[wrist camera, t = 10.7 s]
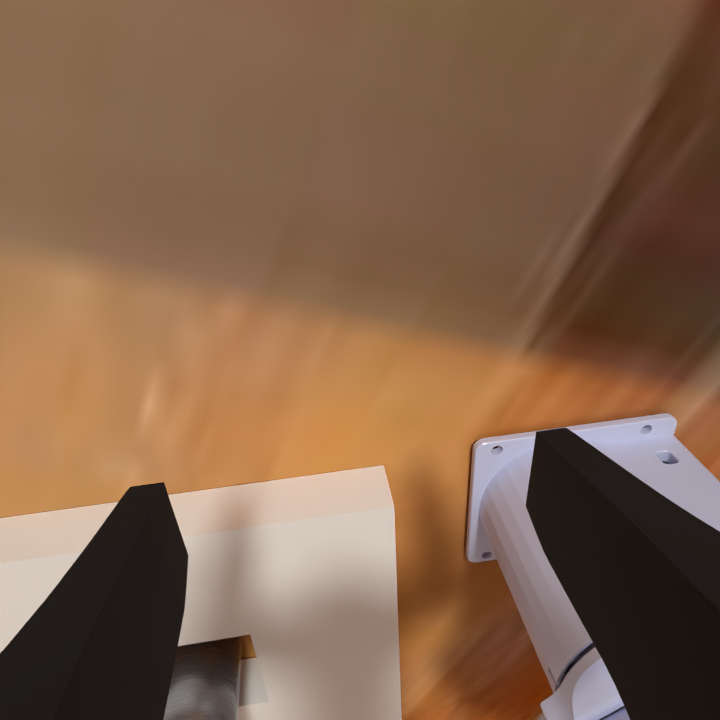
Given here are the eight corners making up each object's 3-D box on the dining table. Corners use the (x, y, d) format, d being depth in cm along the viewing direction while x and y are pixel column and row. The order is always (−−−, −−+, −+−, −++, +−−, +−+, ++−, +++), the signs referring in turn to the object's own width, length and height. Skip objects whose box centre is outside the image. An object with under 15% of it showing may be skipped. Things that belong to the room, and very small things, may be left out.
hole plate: (383, 465, 24) (394, 506, 22) (394, 698, 35) (402, 741, 33) (-89, 530, 23) (-127, 581, 21) (72, 755, 33) (58, 805, 31)
